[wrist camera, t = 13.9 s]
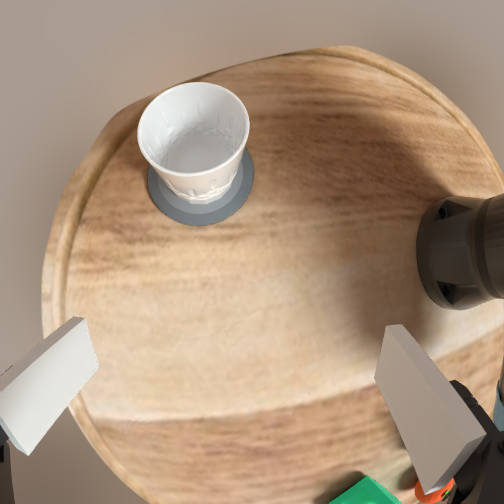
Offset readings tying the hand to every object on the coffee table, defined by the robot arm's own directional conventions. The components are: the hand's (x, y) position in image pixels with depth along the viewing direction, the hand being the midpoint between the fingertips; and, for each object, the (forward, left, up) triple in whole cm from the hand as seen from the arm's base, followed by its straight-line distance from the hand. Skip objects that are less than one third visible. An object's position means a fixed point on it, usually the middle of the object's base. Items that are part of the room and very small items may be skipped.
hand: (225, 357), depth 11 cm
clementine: (-32, +32, -17) cm, 49 cm away
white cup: (+2, -14, -16) cm, 21 cm away
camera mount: (-19, +32, -17) cm, 41 cm away
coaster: (+3, -14, -17) cm, 22 cm away
